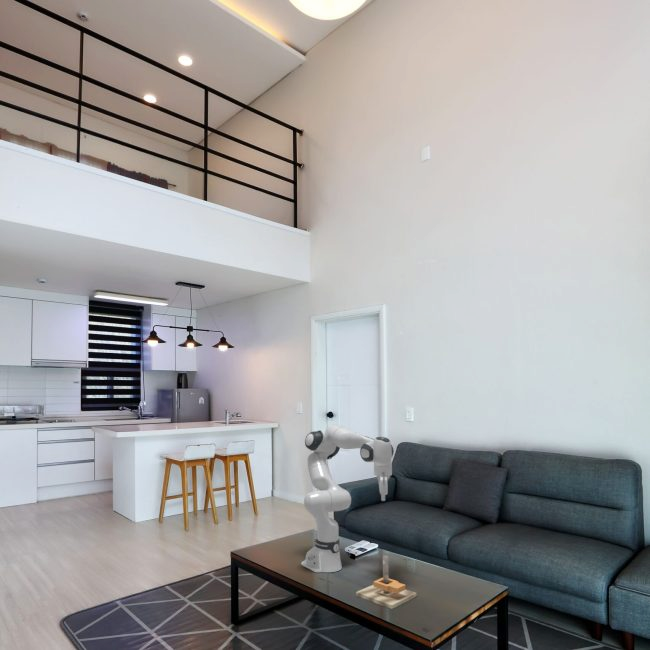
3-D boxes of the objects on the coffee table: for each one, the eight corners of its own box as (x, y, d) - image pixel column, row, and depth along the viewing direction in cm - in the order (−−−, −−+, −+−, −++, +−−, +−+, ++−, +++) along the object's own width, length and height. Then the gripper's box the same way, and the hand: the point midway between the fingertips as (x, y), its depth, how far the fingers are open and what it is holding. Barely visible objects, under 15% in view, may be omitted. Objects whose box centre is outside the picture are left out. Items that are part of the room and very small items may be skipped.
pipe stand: (356, 595, 224) (355, 555, 226) (381, 584, 236) (380, 546, 239) (391, 609, 210) (391, 566, 212) (416, 596, 223) (415, 556, 225)
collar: (373, 586, 224) (373, 581, 224) (384, 581, 229) (384, 576, 230) (396, 594, 215) (395, 589, 215) (406, 588, 221) (406, 584, 221)
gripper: (390, 475, 236) (390, 505, 234) (388, 467, 256) (388, 495, 254) (377, 475, 236) (377, 505, 235) (376, 467, 256) (376, 495, 255)
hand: (383, 500), depth 245 cm, fingers closed
